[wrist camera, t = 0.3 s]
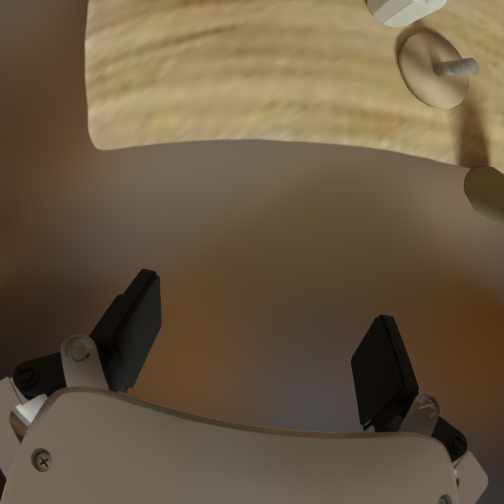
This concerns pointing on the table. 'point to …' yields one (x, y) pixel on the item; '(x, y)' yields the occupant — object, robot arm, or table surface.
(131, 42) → the table surface
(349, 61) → the table surface
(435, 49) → the roll stand
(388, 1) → the paper roll
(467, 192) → the squeeze bottle
